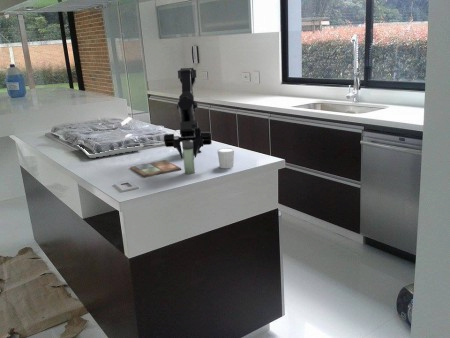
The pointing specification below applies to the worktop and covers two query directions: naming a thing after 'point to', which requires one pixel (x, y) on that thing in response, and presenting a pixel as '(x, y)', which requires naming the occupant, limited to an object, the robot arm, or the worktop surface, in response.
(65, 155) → the worktop surface
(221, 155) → the white cup
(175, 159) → the worktop surface
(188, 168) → the cylinder
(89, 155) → the square plate
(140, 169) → the picture board
